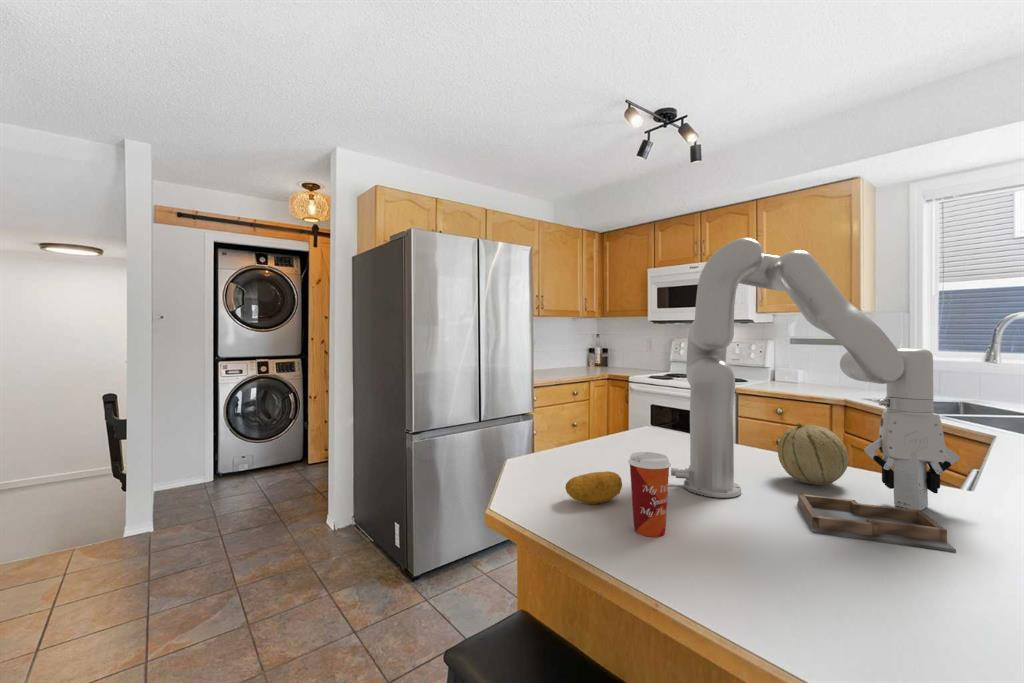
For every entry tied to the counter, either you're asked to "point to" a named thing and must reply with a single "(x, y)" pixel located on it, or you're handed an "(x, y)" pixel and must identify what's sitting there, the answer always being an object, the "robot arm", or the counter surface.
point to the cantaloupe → (812, 454)
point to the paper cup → (649, 492)
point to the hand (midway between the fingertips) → (910, 488)
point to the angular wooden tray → (873, 522)
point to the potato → (594, 487)
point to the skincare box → (910, 483)
